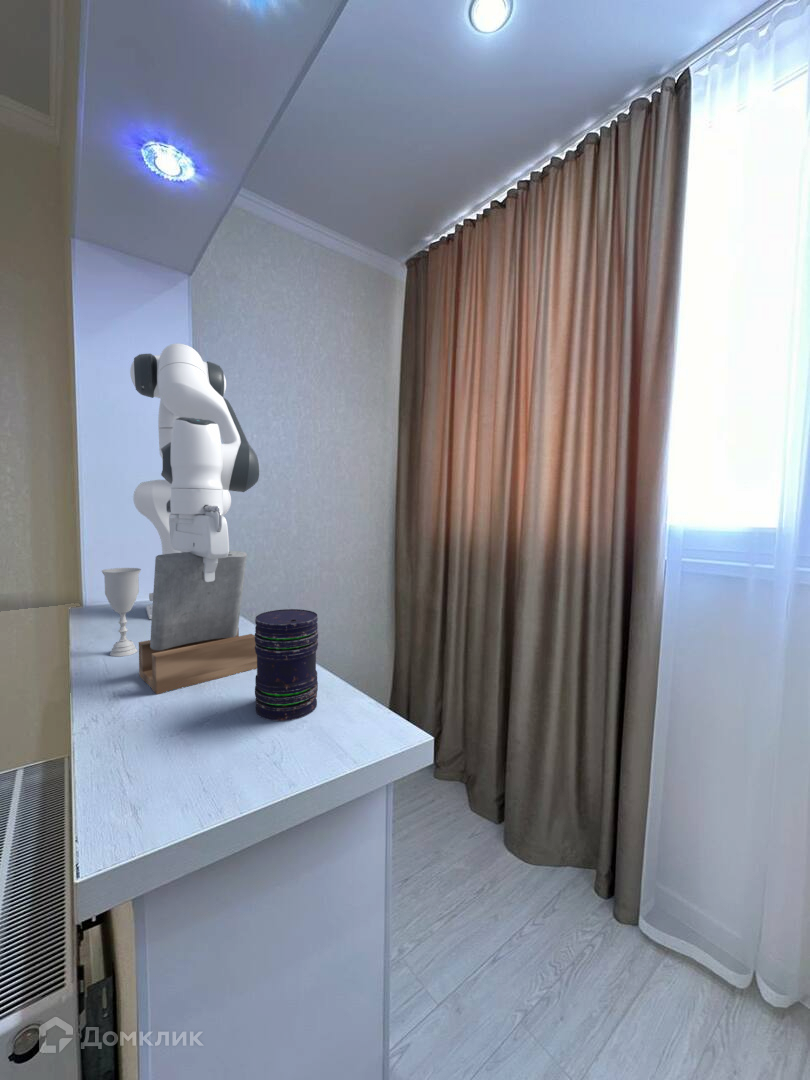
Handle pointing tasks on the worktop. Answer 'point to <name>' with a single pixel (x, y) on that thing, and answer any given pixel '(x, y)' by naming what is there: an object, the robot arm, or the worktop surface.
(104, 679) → the worktop surface
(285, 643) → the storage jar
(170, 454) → the robot arm
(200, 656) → the u rest
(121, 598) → the chalice
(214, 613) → the hip flask
